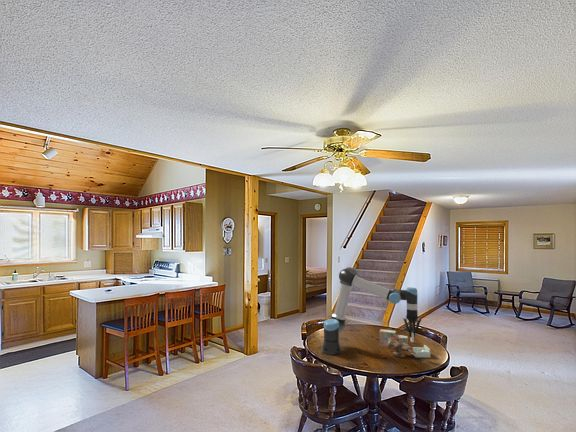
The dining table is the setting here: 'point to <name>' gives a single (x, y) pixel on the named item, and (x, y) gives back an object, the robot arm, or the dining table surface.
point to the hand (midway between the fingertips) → (412, 341)
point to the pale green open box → (421, 354)
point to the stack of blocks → (391, 334)
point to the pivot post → (399, 351)
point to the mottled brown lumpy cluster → (393, 342)
